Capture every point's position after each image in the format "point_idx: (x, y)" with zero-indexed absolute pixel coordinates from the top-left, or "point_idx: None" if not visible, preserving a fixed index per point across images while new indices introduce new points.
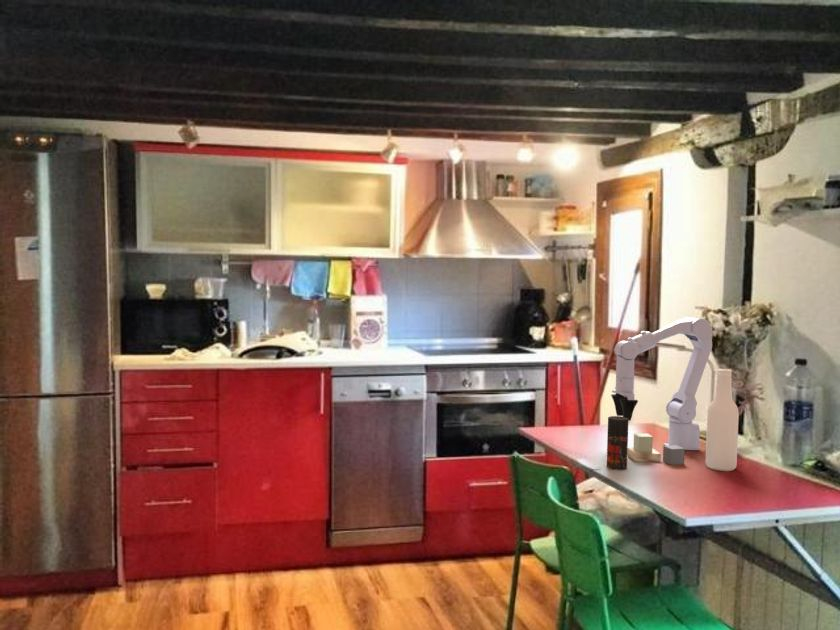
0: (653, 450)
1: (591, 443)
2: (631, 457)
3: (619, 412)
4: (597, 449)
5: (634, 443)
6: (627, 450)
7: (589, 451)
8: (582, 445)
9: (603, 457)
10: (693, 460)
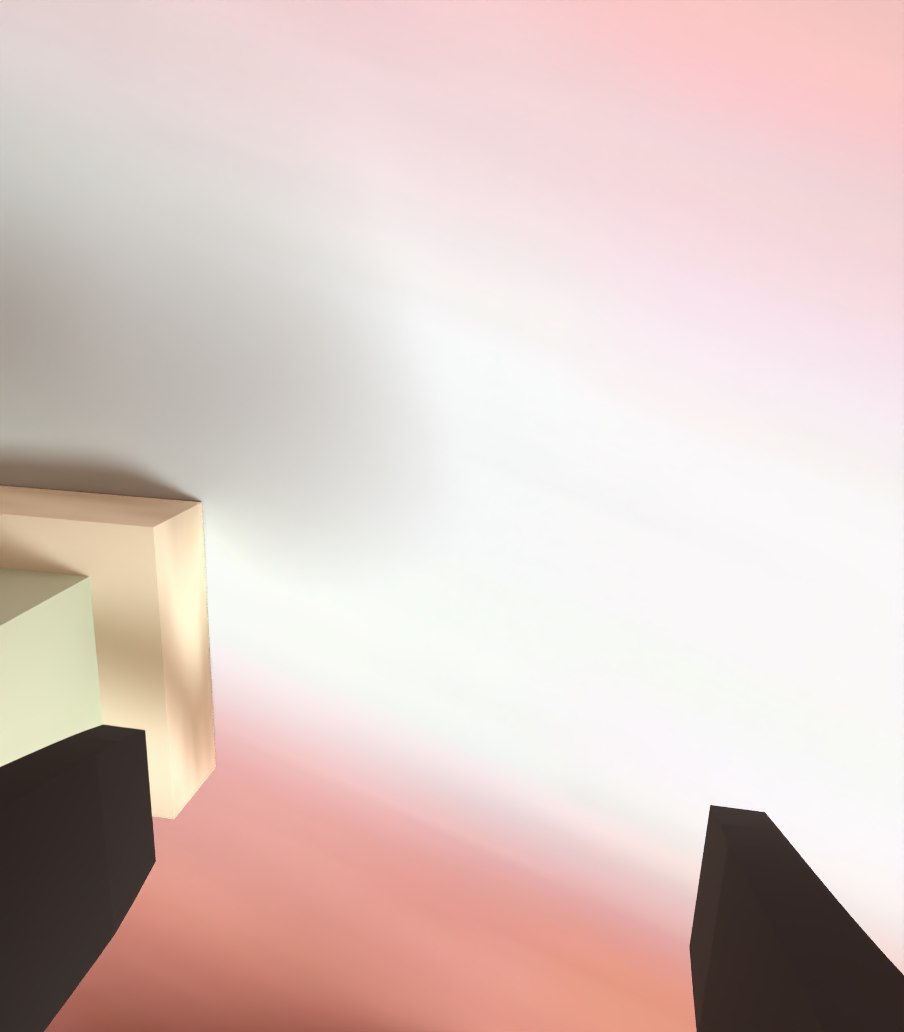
0: None
1: (895, 218)
2: (49, 492)
3: (720, 928)
4: (491, 196)
5: (4, 602)
6: (167, 516)
7: (372, 24)
8: (774, 8)
9: (59, 143)
10: (52, 1022)
